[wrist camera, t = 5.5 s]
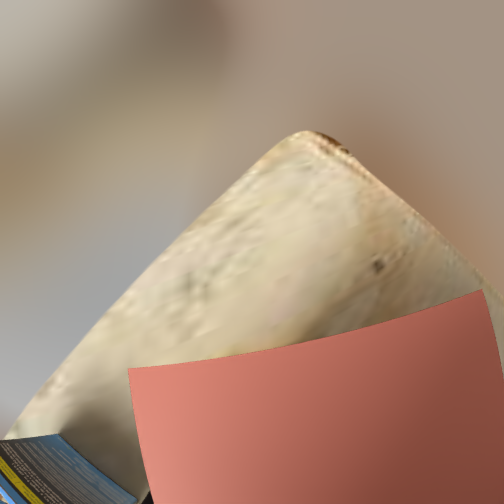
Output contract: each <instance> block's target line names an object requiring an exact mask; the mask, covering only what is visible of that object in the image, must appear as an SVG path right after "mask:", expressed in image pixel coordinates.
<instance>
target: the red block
mask: <svg viewBox="0 0 504 504" xmlns="http://www.w3.org/2000/svg"><path fill="white" fill-rule="evenodd" d="M128 374H129V382H130V389H131V396H132V403H133V410H134V416H135V422H136V427H137V433H138V438H139V443H140V448H141V453H142V457H143V462H144V466H145V471H146V475H147V479H148V483H149V487H150V491H151V494H152V498H153V502H154V504H504V379H503V373H502V367H501V362H500V356H499V352H498V347H497V342H496V338H495V334H494V330H493V326H492V322H491V318H490V314H489V311H488V307H487V304H486V300H485V297H484V294H483V291H482V289H481V290H478V291H475V292H473V293H470V294H467V295H465V296H462V297H459V298H456V299H454V300H451V301H448V302H445V303H442V304H439V305H436V306H434V307H431V308H427V309H424V310H421V311H418V312H415V313H412V314H409V315H406V316H402V317H399V318H396V319H392V320H389V321H385V322H382V323H378V324H375V325H371V326H368V327H364V328H360V329H356V330H353V331H349V332H345V333H341V334H337V335H333V336H329V337H324V338H320V339H316V340H312V341H307V342H303V343H298V344H293V345H288V346H284V347H279V348H274V349H268V350H263V351H258V352H252V353H247V354H241V355H235V356H229V357H222V358H216V359H209V360H202V361H195V362H187V363H179V364H171V365H162V366H152V367H141V368H130V369H128Z"/></svg>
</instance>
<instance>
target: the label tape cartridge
mask: <svg viewBox="0 0 504 504" xmlns="http://www.w3.org/2000/svg"><path fill="white" fill-rule="evenodd" d="M0 494H1V495H2V496H3V497H4V498H5V500H6V501H7V502H8V503H9V504H137V499H136V498H135V497H133V496H132V495H131V494H129V493H128V492H126V491H125V490H124V489H122V488H121V487H120V486H118V485H117V484H116V483H114V482H113V481H112V480H110V479H109V478H108V477H106V476H105V475H104V474H103V473H101V472H100V471H99V470H98V469H96V468H95V467H94V466H93V465H92V464H90V463H89V462H88V461H87V460H86V459H84V458H83V457H82V456H81V455H80V454H79V453H78V452H77V451H75V450H74V449H73V448H72V447H71V446H70V445H69V444H68V443H67V442H66V441H65V440H64V439H63V438H61V437H60V436H59V435H58V434H53V435H46V436H38V437H30V438H21V439H11V440H0ZM0 504H7V503H5V502H3V501H1V500H0Z"/></svg>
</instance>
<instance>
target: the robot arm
mask: <svg viewBox="0 0 504 504" xmlns="http://www.w3.org/2000/svg"><path fill="white" fill-rule="evenodd" d="M141 504H154V502H153V498H152V494H151V491H149V492H148V494H147V496H146V497H145V499H144V500H143V502H142V503H141Z"/></svg>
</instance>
